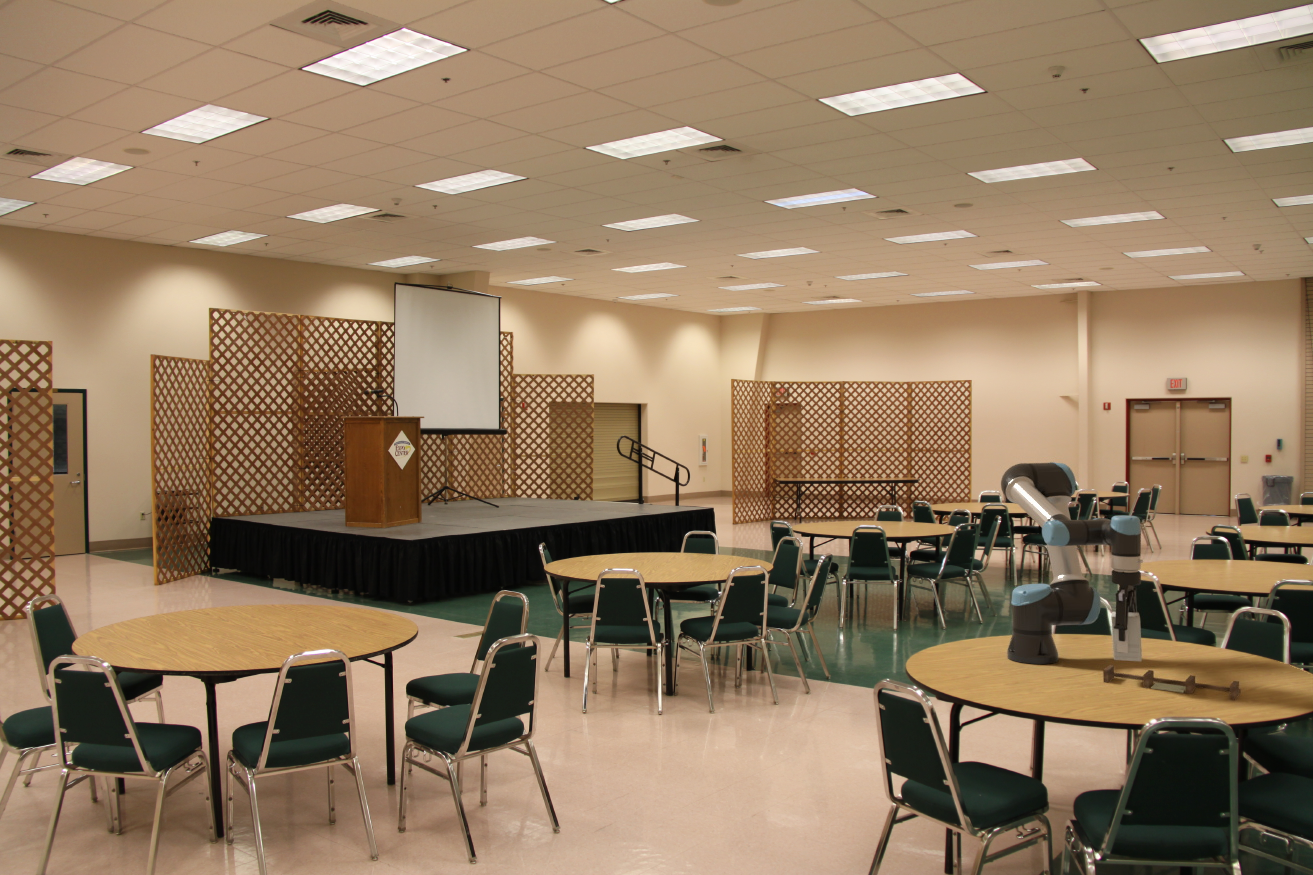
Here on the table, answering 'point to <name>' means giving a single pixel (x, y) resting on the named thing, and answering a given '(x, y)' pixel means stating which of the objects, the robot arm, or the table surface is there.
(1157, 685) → the pad
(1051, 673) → the table surface
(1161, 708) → the table surface
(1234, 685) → the notch rail
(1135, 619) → the supplement box
